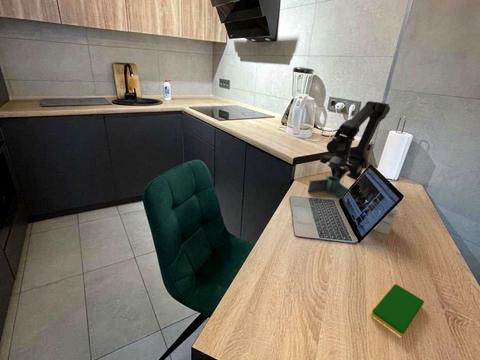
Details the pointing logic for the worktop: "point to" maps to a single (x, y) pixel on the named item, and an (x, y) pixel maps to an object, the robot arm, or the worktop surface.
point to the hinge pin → (338, 172)
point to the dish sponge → (397, 309)
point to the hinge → (328, 186)
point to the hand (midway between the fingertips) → (336, 179)
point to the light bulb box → (386, 222)
